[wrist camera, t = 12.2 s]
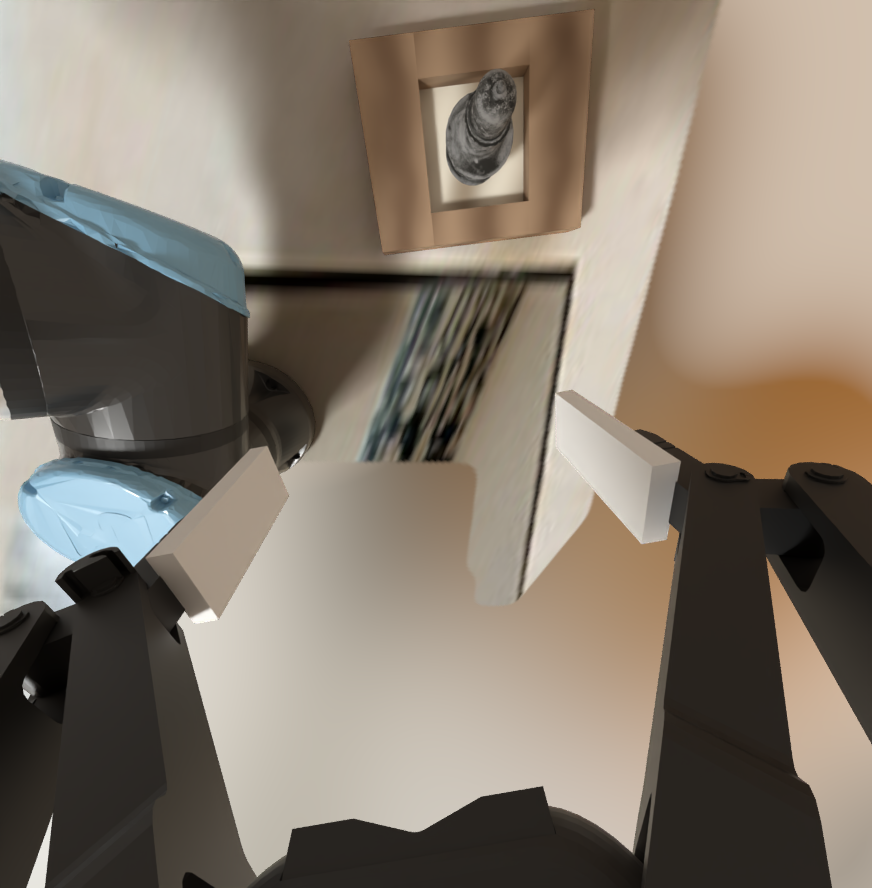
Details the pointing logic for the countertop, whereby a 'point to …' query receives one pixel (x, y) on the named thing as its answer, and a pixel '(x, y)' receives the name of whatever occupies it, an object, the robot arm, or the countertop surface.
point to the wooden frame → (426, 116)
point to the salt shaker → (482, 129)
